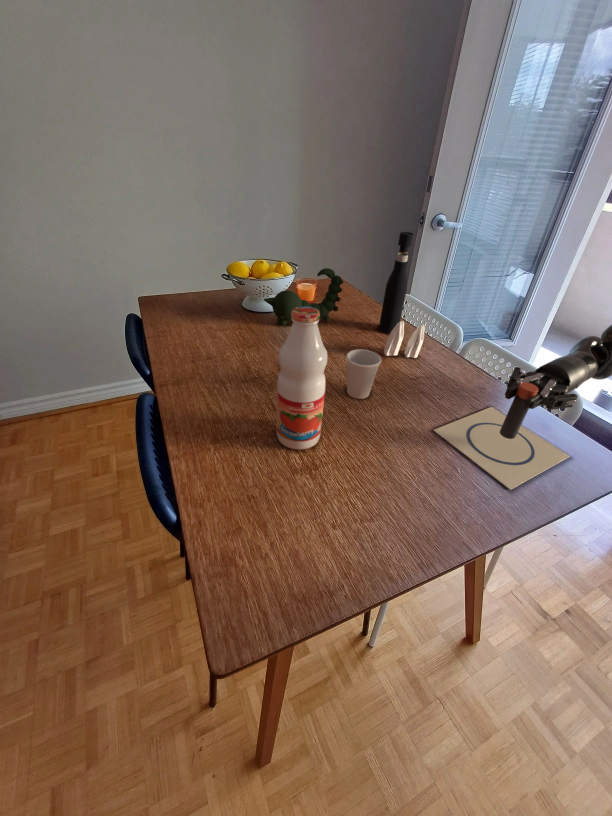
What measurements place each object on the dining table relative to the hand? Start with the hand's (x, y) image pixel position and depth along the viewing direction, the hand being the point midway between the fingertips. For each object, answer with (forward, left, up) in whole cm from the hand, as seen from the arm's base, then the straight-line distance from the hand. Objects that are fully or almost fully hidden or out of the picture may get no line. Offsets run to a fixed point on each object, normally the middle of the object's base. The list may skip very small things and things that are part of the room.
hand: (517, 399), depth 77 cm
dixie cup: (+31, +13, -13) cm, 36 cm away
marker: (0, -3, -10) cm, 10 cm away
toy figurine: (+73, +5, -13) cm, 74 cm away
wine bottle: (+57, -19, -13) cm, 61 cm away
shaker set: (+41, -10, -13) cm, 44 cm away
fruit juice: (+23, +35, -13) cm, 44 cm away
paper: (+1, -3, -13) cm, 13 cm away
